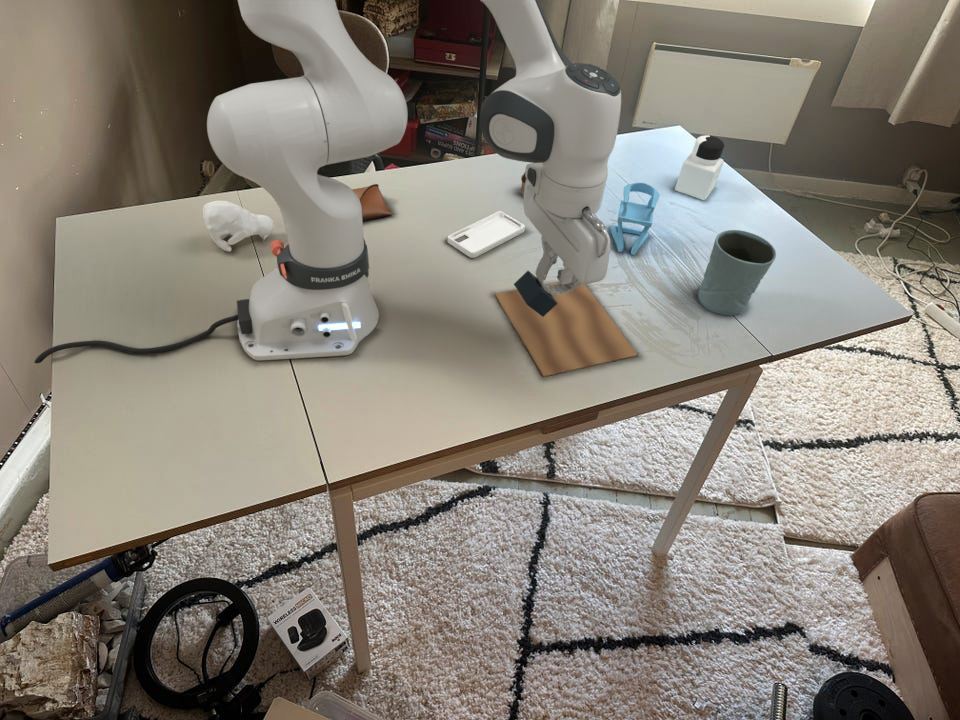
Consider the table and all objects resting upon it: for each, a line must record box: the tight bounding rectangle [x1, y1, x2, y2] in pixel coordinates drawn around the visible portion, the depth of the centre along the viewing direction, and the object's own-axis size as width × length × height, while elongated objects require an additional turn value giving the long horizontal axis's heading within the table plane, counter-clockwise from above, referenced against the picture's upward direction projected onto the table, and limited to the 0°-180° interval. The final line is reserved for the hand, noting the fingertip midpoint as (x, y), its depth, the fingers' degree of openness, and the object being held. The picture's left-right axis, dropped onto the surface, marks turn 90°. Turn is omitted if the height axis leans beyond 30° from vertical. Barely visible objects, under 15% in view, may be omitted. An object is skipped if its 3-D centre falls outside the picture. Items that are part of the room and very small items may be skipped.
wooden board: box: [494, 281, 638, 378], centre depth 109 cm, size 17×21×1 cm
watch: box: [513, 248, 583, 317], centre depth 99 cm, size 6×8×11 cm
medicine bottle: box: [674, 134, 725, 201], centre depth 141 cm, size 7×7×12 cm
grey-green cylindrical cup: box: [697, 229, 777, 316], centre depth 113 cm, size 10×10×12 cm
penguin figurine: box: [202, 200, 275, 253], centre depth 117 cm, size 6×8×12 cm
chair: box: [610, 182, 661, 256], centre depth 124 cm, size 8×8×12 cm
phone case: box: [447, 210, 526, 259], centre depth 126 cm, size 7×1×15 cm
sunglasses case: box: [351, 183, 394, 223], centre depth 127 cm, size 18×7×7 cm, turn 121°
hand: (556, 271), depth 99 cm, fingers closed on watch, 3 cm apart
